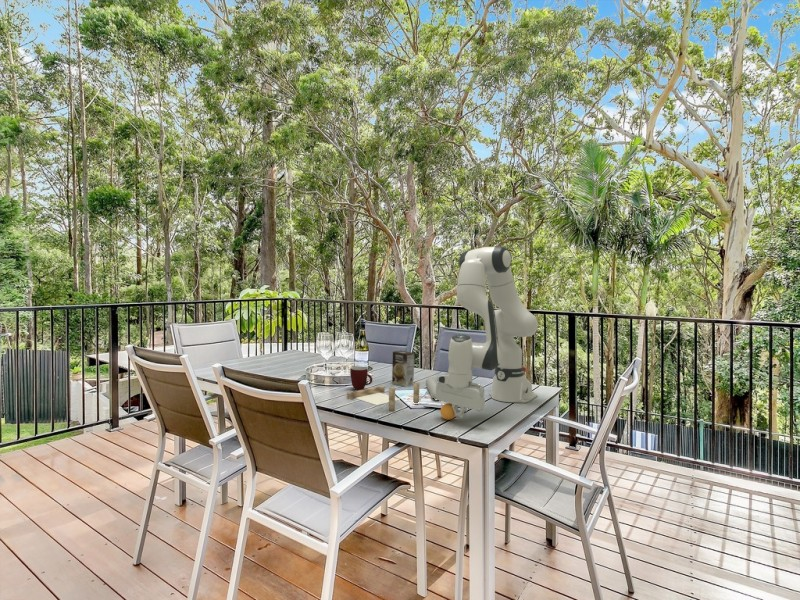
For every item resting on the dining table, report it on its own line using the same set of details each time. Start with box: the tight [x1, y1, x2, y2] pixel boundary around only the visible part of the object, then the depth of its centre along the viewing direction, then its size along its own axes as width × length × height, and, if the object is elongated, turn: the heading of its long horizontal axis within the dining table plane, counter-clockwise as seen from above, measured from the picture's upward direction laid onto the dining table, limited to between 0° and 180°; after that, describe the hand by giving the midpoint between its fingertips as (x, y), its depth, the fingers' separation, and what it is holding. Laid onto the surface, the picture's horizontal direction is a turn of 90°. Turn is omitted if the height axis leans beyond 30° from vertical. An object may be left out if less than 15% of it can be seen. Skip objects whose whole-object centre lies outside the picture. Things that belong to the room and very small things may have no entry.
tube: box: [425, 377, 438, 400], centre depth 209 cm, size 5×5×25 cm
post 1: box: [388, 386, 396, 412], centre depth 182 cm, size 2×2×9 cm
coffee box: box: [391, 350, 415, 388], centre depth 225 cm, size 9×6×16 cm
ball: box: [440, 402, 455, 421], centre depth 172 cm, size 6×6×6 cm
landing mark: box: [355, 392, 401, 406], centre depth 199 cm, size 14×14×1 cm
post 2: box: [412, 381, 420, 403], centre depth 192 cm, size 2×2×9 cm
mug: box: [349, 366, 373, 391], centre depth 214 cm, size 10×8×10 cm
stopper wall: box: [346, 385, 386, 400], centre depth 204 cm, size 20×2×2 cm, turn 134°
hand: (459, 417), depth 169 cm, fingers closed
